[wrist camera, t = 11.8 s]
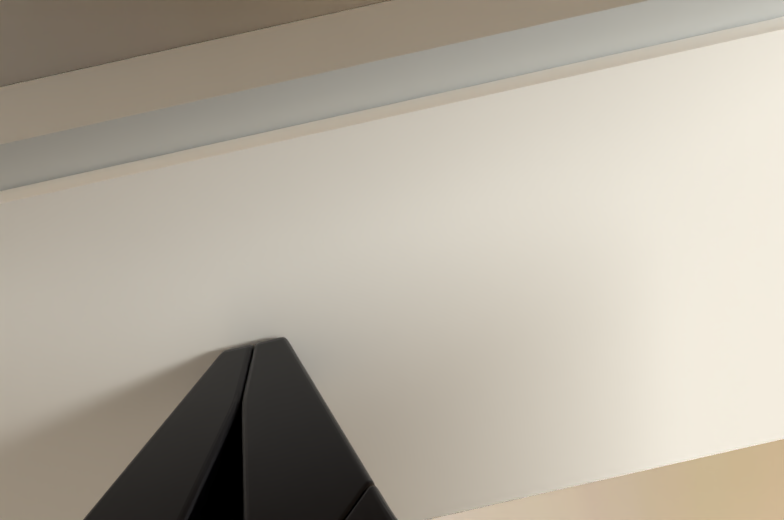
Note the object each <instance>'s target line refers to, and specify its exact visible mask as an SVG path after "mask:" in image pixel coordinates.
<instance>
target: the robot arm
mask: <svg viewBox="0 0 784 520" xmlns="http://www.w3.org/2000/svg"><path fill="white" fill-rule="evenodd" d="M83 520H397V518H396V517H395V515H394V514H393V512H392V511H391V509H390V508H389V506H388V504H387V503H386V501H385V499H384V498H383V496H382V494H381V493H380V491H379V489H378V488H377V487H376V486H375V484H374V482H373V480H372V478H371V477H370V475H369V473H368V472H367V470H366V468H365V467H364V465H363V463H362V462H361V460H360V458H359V457H358V455H357V453H356V452H355V450H354V449H353V447H352V445H351V444H350V442H349V440H348V439H347V437H346V435H345V434H344V432H343V430H342V429H341V427H340V425H339V424H338V422H337V420H336V419H335V417H334V415H333V414H332V412H331V410H330V409H329V407H328V405H327V404H326V402H325V401H324V399H323V397H322V396H321V394H320V392H319V391H318V389H317V387H316V386H315V384H314V382H313V381H312V379H311V377H310V376H309V374H308V372H307V371H306V369H305V367H304V366H303V364H302V362H301V361H300V359H299V357H298V356H297V354H296V353H295V351H294V349H293V348H292V346H291V344H290V343H289V341H288V339H286V338H285V337H279V338H275V339H271V340H267V341H263V342H259V343H257V344H256V345H255V346H254V345H246V346H241V347H237V348H233V349H228V350H225V351H223V352H222V353H221V354H220V355H219V356H218V357H217V358H216V360H215V361H214V362H213V363H212V364H211V366H210V367H209V368H208V369H207V371H206V372H205V373H204V374H203V375H202V377H201V378H200V379H199V380H198V381H197V383H196V384H195V385H194V386H193V387H192V389H191V390H190V391H189V392H188V393H187V395H186V396H185V397H184V398H183V399H182V401H181V402H180V403H179V404H178V406H177V407H176V408H175V409H174V410H173V412H172V413H171V414H170V415H169V416H168V418H167V419H166V420H165V421H164V422H163V424H162V425H161V426H160V427H159V428H158V430H157V431H156V432H155V433H154V435H153V436H152V437H151V438H150V439H149V441H148V442H147V443H146V444H145V445H144V447H143V448H142V449H141V450H140V451H139V453H138V454H137V455H136V456H135V457H134V459H133V460H132V461H131V462H130V463H129V465H128V466H127V467H126V468H125V470H124V471H123V472H122V473H121V474H120V476H119V477H118V478H117V479H116V480H115V482H114V483H113V484H112V485H111V486H110V488H109V489H108V490H107V491H106V492H105V494H104V495H103V496H102V497H101V498H100V500H99V501H98V502H97V503H96V505H95V506H94V507H93V508H92V509H91V511H90V512H89V513H88V514H87V515H86V517H85V518H84V519H83Z"/></svg>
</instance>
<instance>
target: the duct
mask: <svg viewBox="0 0 784 520" xmlns="http://www.w3.org/2000/svg"><path fill="white" fill-rule="evenodd" d="M779 17H784V0H390V1H386V2H381V3H377V4H372V5H368V6H363V7H359V8H354V9H350V10H345V11H341V12H336V13H332V14H327V15H323V16H318V17H314V18H309V19H305V20H300V21H296V22H291V23H287V24H282V25H278V26H273V27H269V28H264V29H260V30H255V31H251V32H246V33H242V34H237V35H233V36H228V37H224V38H219V39H215V40H210V41H206V42H201V43H197V44H192V45H188V46H183V47H179V48H174V49H170V50H165V51H161V52H156V53H152V54H147V55H143V56H138V57H133V58H129V59H124V60H120V61H115V62H111V63H106V64H102V65H97V66H93V67H88V68H84V69H79V70H75V71H70V72H66V73H61V74H57V75H52V76H48V77H43V78H39V79H34V80H30V81H25V82H21V83H16V84H12V85H7V86H3V87H0V191H3V190H8V189H12V188H17V187H21V186H26V185H30V184H35V183H39V182H44V181H48V180H53V179H57V178H62V177H66V176H71V175H75V174H80V173H84V172H89V171H93V170H97V169H102V168H106V167H111V166H115V165H120V164H124V163H129V162H133V161H138V160H142V159H147V158H151V157H156V156H160V155H165V154H169V153H174V152H178V151H183V150H187V149H192V148H196V147H201V146H205V145H210V144H214V143H219V142H223V141H228V140H232V139H237V138H241V137H246V136H250V135H255V134H259V133H263V132H268V131H272V130H277V129H281V128H286V127H290V126H295V125H299V124H304V123H308V122H313V121H317V120H322V119H326V118H331V117H335V116H340V115H344V114H349V113H353V112H358V111H362V110H367V109H371V108H376V107H380V106H385V105H389V104H394V103H398V102H403V101H407V100H412V99H416V98H421V97H425V96H429V95H434V94H438V93H443V92H447V91H452V90H456V89H461V88H465V87H470V86H474V85H479V84H483V83H488V82H492V81H497V80H501V79H506V78H510V77H515V76H519V75H524V74H528V73H533V72H537V71H542V70H546V69H551V68H555V67H560V66H564V65H569V64H573V63H578V62H582V61H587V60H591V59H596V58H600V57H604V56H609V55H613V54H618V53H622V52H627V51H631V50H636V49H640V48H645V47H649V46H654V45H658V44H663V43H667V42H672V41H676V40H681V39H685V38H690V37H694V36H699V35H703V34H708V33H712V32H717V31H721V30H726V29H730V28H735V27H739V26H744V25H748V24H753V23H757V22H762V21H766V20H770V19H775V18H779Z"/></svg>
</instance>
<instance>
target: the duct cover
mask: <svg viewBox="0 0 784 520" xmlns="http://www.w3.org/2000/svg"><path fill="white" fill-rule="evenodd" d="M279 337H285V338H286V339H288V341H289V343H290V344H291V346H292V348H293V349H294V351H295V353H296V354H297V356H298V357H299V359H300V361H301V362H302V364H303V366H304V367H305V369H306V371H307V372H308V374H309V376H310V377H311V379H312V381H313V382H314V384H315V386H316V387H317V389H318V391H319V392H320V394H321V396H322V397H323V399H324V401H325V402H326V404H327V405H328V407H329V409H330V410H331V412H332V414H333V415H334V417H335V419H336V420H337V422H338V424H339V425H340V427H341V429H342V430H343V432H344V434H345V435H346V437H347V439H348V440H349V442H350V444H351V445H352V447H353V449H354V450H355V452H356V453H357V455H358V457H359V458H360V460H361V462H362V463H363V465H364V467H365V468H366V470H367V472H368V473H369V475H370V477H371V478H372V480H373V482H374V484H375V486H376V487H377V488H378V489H379V491H380V493H381V494H382V496H383V498H384V499H385V501H386V503H387V504H388V506H389V508H390V509H391V511H392V512H393V514H394V515H395V517H396V518H397V520H428V519H432V518H437V517H441V516H446V515H450V514H454V513H459V512H463V511H468V510H472V509H477V508H481V507H485V506H490V505H494V504H499V503H503V502H507V501H512V500H516V499H521V498H525V497H529V496H534V495H538V494H543V493H547V492H552V491H556V490H560V489H565V488H569V487H574V486H578V485H582V484H587V483H591V482H596V481H600V480H604V479H609V478H613V477H618V476H622V475H627V474H631V473H635V472H640V471H644V470H649V469H653V468H657V467H662V466H666V465H671V464H675V463H679V462H684V461H688V460H693V459H697V458H702V457H706V456H710V455H715V454H719V453H724V452H728V451H732V450H737V449H741V448H746V447H750V446H754V445H759V444H763V443H768V442H772V441H776V440H781V439H784V17H779V18H775V19H770V20H766V21H762V22H757V23H753V24H748V25H744V26H739V27H735V28H730V29H726V30H721V31H717V32H712V33H708V34H703V35H699V36H694V37H690V38H685V39H681V40H676V41H672V42H667V43H663V44H658V45H654V46H649V47H645V48H640V49H636V50H631V51H627V52H622V53H618V54H613V55H609V56H604V57H600V58H596V59H591V60H587V61H582V62H578V63H573V64H569V65H564V66H560V67H555V68H551V69H546V70H542V71H537V72H533V73H528V74H524V75H519V76H515V77H510V78H506V79H501V80H497V81H492V82H488V83H483V84H479V85H474V86H470V87H465V88H461V89H456V90H452V91H447V92H443V93H438V94H434V95H429V96H425V97H421V98H416V99H412V100H407V101H403V102H398V103H394V104H389V105H385V106H380V107H376V108H371V109H367V110H362V111H358V112H353V113H349V114H344V115H340V116H335V117H331V118H326V119H322V120H317V121H313V122H308V123H304V124H299V125H295V126H290V127H286V128H281V129H277V130H272V131H268V132H263V133H259V134H255V135H250V136H246V137H241V138H237V139H232V140H228V141H223V142H219V143H214V144H210V145H205V146H201V147H196V148H192V149H187V150H183V151H178V152H174V153H169V154H165V155H160V156H156V157H151V158H147V159H142V160H138V161H133V162H129V163H124V164H120V165H115V166H111V167H106V168H102V169H97V170H93V171H89V172H84V173H80V174H75V175H71V176H66V177H62V178H57V179H53V180H48V181H44V182H39V183H35V184H30V185H26V186H21V187H17V188H12V189H8V190H3V191H0V520H83V519H84V518H85V517H86V515H87V514H88V513H89V512H90V511H91V509H92V508H93V507H94V506H95V505H96V503H97V502H98V501H99V500H100V498H101V497H102V496H103V495H104V494H105V492H106V491H107V490H108V489H109V488H110V486H111V485H112V484H113V483H114V482H115V480H116V479H117V478H118V477H119V476H120V474H121V473H122V472H123V471H124V470H125V468H126V467H127V466H128V465H129V463H130V462H131V461H132V460H133V459H134V457H135V456H136V455H137V454H138V453H139V451H140V450H141V449H142V448H143V447H144V445H145V444H146V443H147V442H148V441H149V439H150V438H151V437H152V436H153V435H154V433H155V432H156V431H157V430H158V428H159V427H160V426H161V425H162V424H163V422H164V421H165V420H166V419H167V418H168V416H169V415H170V414H171V413H172V412H173V410H174V409H175V408H176V407H177V406H178V404H179V403H180V402H181V401H182V399H183V398H184V397H185V396H186V395H187V393H188V392H189V391H190V390H191V389H192V387H193V386H194V385H195V384H196V383H197V381H198V380H199V379H200V378H201V377H202V375H203V374H204V373H205V372H206V371H207V369H208V368H209V367H210V366H211V364H212V363H213V362H214V361H215V360H216V358H217V357H218V356H219V355H220V354H221V353H222V352H223V351H225V350H228V349H233V348H237V347H241V346H246V345H254V346H255V345H256V344H257V343H259V342H263V341H267V340H271V339H275V338H279Z"/></svg>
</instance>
